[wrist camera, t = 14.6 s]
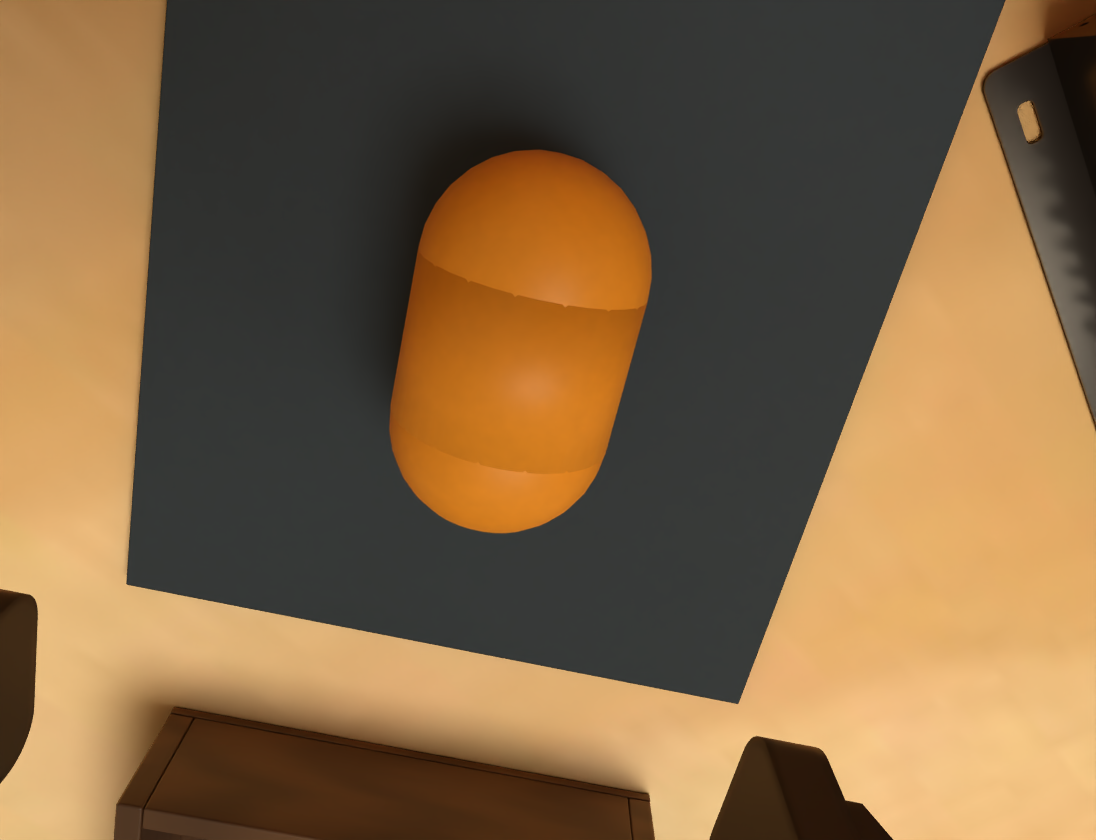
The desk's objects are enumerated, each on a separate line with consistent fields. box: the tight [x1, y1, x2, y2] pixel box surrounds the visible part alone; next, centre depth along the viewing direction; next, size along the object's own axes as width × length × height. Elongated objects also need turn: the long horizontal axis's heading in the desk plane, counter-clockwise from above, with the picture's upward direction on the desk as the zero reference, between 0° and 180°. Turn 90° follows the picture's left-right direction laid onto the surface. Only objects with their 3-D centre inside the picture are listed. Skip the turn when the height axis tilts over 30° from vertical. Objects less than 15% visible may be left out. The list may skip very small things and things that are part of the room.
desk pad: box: [126, 0, 1005, 704], centre depth 25 cm, size 20×22×1 cm
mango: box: [389, 150, 652, 533], centre depth 22 cm, size 6×10×6 cm, turn 167°
